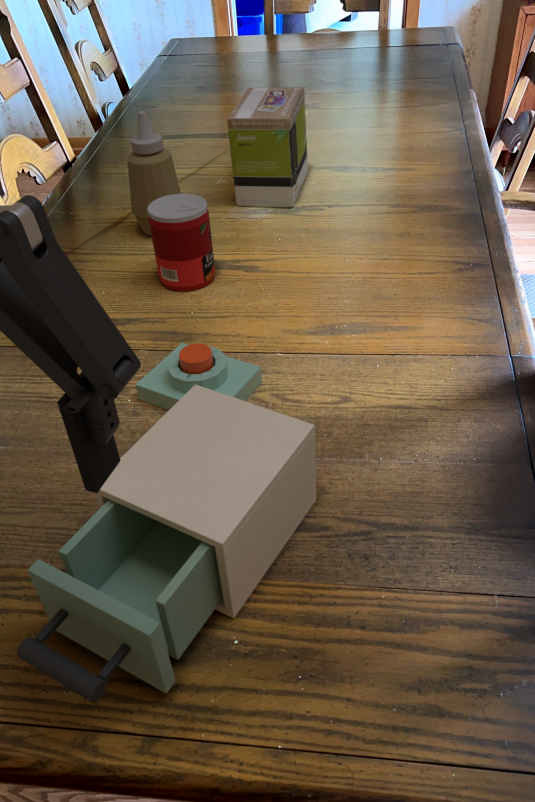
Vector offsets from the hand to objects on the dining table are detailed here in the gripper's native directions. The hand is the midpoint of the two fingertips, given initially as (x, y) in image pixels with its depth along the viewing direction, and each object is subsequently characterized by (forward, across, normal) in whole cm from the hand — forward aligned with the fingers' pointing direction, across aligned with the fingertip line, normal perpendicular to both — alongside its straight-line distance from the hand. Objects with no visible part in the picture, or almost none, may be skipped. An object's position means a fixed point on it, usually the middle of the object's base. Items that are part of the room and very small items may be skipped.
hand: (6, 452), depth 43 cm
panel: (+21, -4, +32) cm, 39 cm away
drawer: (+21, +3, +4) cm, 21 cm away
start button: (+18, -4, +32) cm, 37 cm away
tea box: (+21, -15, +86) cm, 90 cm away
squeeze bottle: (+21, -27, +68) cm, 77 cm away
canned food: (+22, -17, +55) cm, 61 cm away
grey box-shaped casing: (+22, +5, +14) cm, 27 cm away
